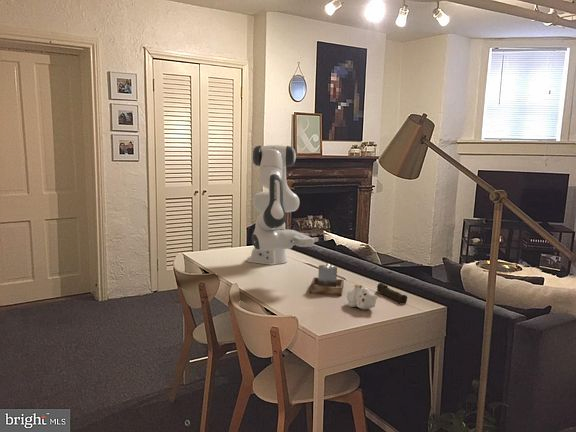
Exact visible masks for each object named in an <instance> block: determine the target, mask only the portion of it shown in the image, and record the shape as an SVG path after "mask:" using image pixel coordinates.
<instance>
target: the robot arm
mask: <svg viewBox="0 0 576 432" xmlns="http://www.w3.org/2000/svg"><path fill="white" fill-rule="evenodd" d="M251 159H252V163H253V164H254V165H255V166H257V167H259V171H258V178H259V183H260V185H261V186H262V187H264V188H265V189H268V191H261V192H257V193H256V194H255V195H254V196H253V199H252V206H253V207H254V209H255V210H256V211H258V212H259V213H260V214H259V215H257V217H256V218H255V222H254V224H255V225H254V227H255V228H254V230H253V233H252V235H251V243H252V246H253V247H254V248H253V249H252V251H251V254H250V256H248V257H247V259H246V260H247V261H246V262H247V263H253V264H254V263H255V264H261V265H262V264H263V265H269V266H273V265H279V264H280V265H281V264H285V263H287V262H288V259H287V254H286V250H288V249H289V250H290V249H292V248H293V246H296V247H300V248H306V247H313V246H314V245H315V243H317V242H319V237H317V236H316V237H315V236H313V237H311V236H310V234H309V233H307V232H306V233H305V232H300V231H297V230H295V229H286V220H287V213H292V212H296V211H297V210H298V209H299V207H300V203H301V202H300V198H299V196H298V195H297V194H296V193H295V192H294V191H292V190H291V188H290V187H289V185H288V181H287V168H289V167H292V166H294V165H295V162H296V159H297V154H296V150H295V148H293V146H291V145H290V146H289V145H279V144H275V145H269V144H268V145H257V146H255V147H254V148H253V151H252V153H251Z"/></svg>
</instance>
